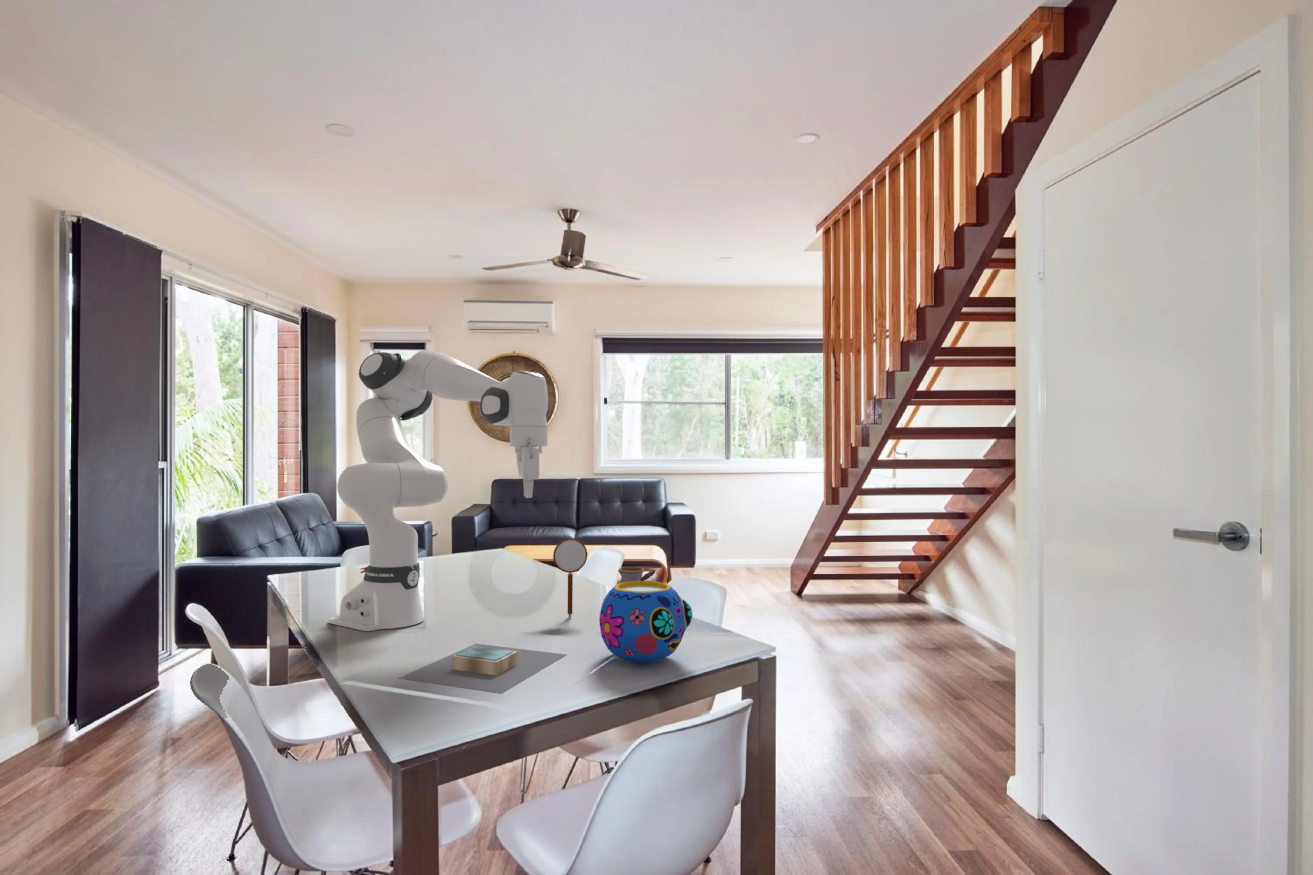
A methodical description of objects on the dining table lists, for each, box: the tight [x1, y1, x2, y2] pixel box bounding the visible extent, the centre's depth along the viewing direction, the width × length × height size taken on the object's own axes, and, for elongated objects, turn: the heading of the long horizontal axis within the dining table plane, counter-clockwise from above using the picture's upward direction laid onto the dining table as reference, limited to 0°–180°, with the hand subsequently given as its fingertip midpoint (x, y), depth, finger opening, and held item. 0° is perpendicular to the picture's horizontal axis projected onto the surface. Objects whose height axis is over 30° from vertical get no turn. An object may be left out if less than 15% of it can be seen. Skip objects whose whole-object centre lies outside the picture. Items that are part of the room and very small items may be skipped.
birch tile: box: [452, 646, 517, 675], centre depth 132 cm, size 10×3×7 cm
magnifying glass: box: [552, 537, 588, 618], centre depth 174 cm, size 9×2×20 cm, turn 102°
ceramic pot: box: [598, 580, 693, 665], centre depth 139 cm, size 18×18×15 cm
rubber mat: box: [398, 643, 567, 694], centre depth 133 cm, size 22×24×1 cm
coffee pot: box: [617, 566, 660, 584], centre depth 166 cm, size 21×12×15 cm, turn 22°
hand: (528, 497), depth 162 cm, fingers closed
